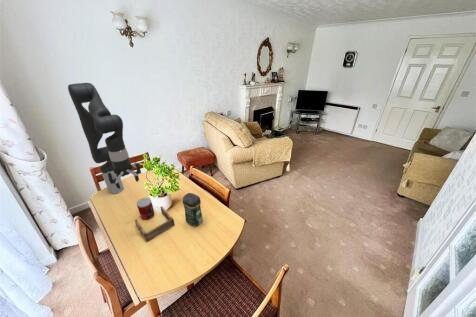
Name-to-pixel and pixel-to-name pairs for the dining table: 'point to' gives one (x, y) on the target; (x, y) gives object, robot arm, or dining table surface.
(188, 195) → the coffee jar
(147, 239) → the corral
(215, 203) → the dining table surface
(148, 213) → the canned food
